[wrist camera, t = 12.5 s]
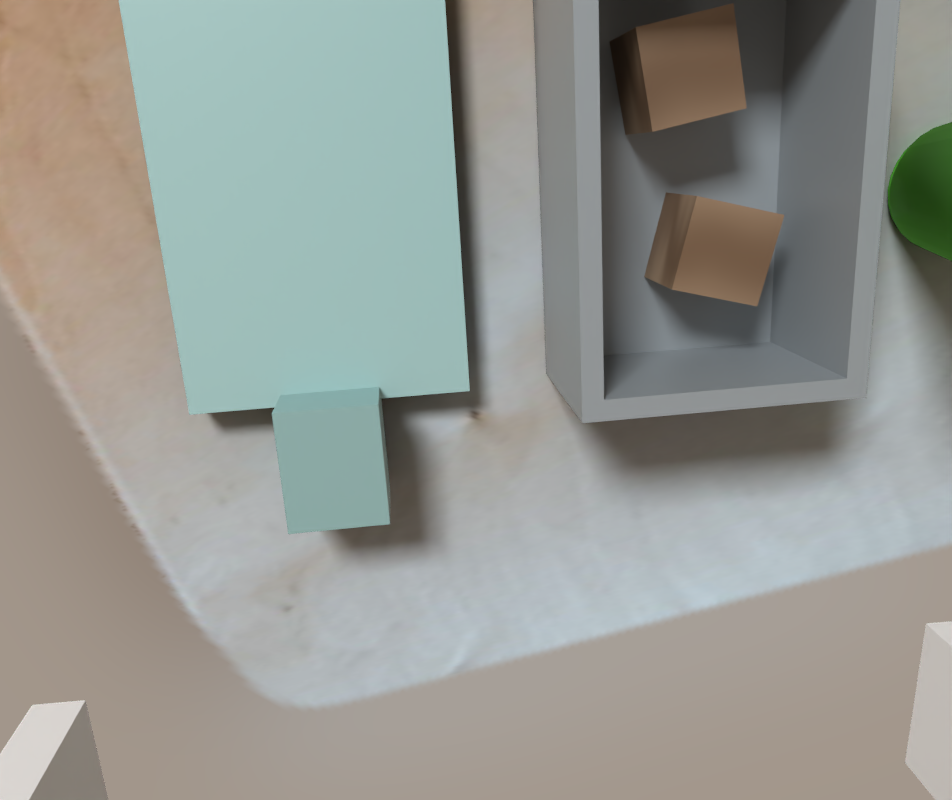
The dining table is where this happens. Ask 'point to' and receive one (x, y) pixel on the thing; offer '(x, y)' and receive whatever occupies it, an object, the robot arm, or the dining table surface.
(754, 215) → the block
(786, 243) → the tub
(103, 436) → the dining table surface
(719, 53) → the block
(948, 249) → the cup
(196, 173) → the lid
